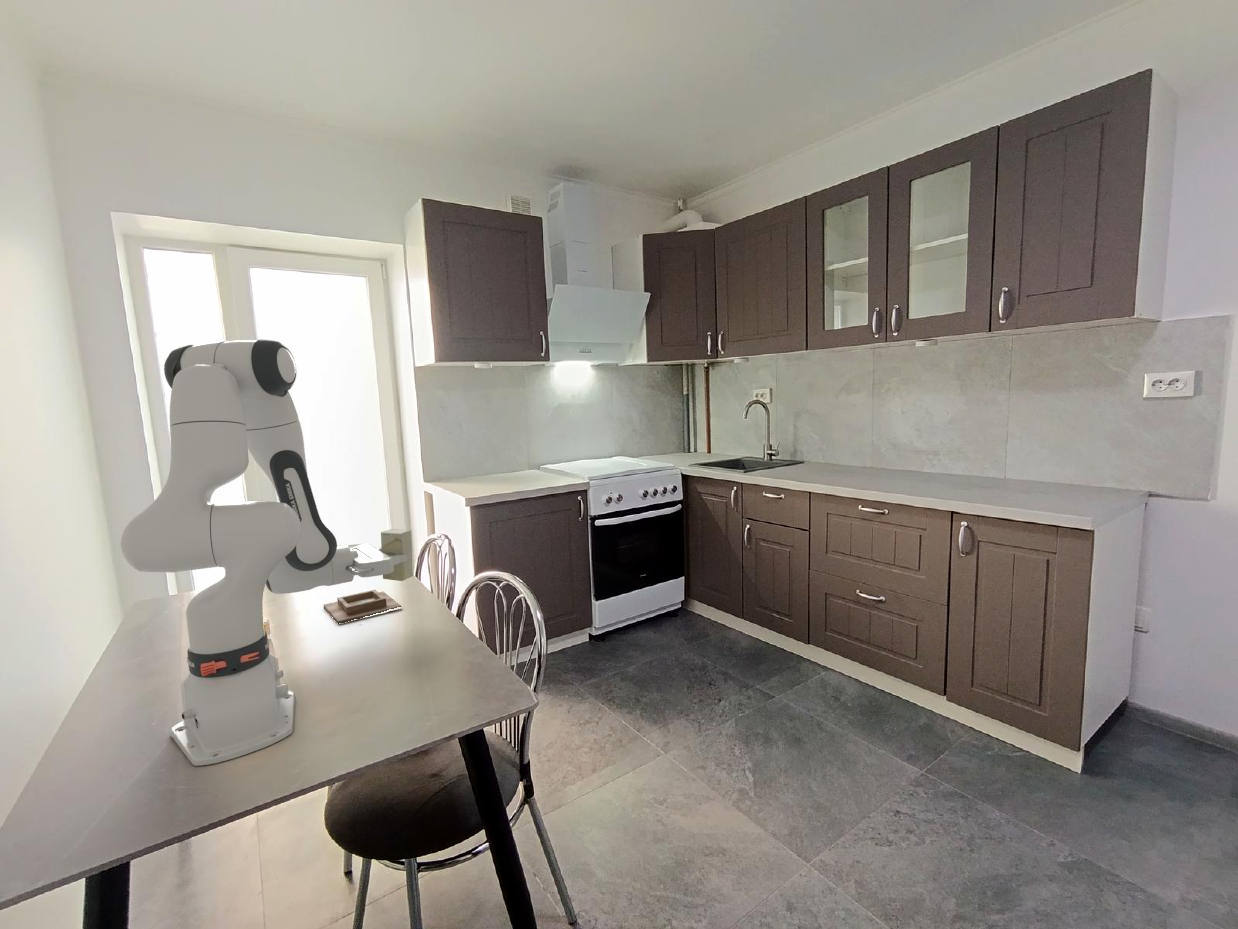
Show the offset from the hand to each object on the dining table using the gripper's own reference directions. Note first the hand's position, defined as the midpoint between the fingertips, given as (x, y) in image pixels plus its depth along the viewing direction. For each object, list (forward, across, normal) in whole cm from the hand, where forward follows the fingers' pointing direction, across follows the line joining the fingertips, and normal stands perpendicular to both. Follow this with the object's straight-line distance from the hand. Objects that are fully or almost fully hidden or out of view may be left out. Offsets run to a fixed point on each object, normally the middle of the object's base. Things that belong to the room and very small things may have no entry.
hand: (400, 553), depth 145 cm
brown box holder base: (-6, +18, +18) cm, 26 cm away
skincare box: (-1, 0, +6) cm, 6 cm away
